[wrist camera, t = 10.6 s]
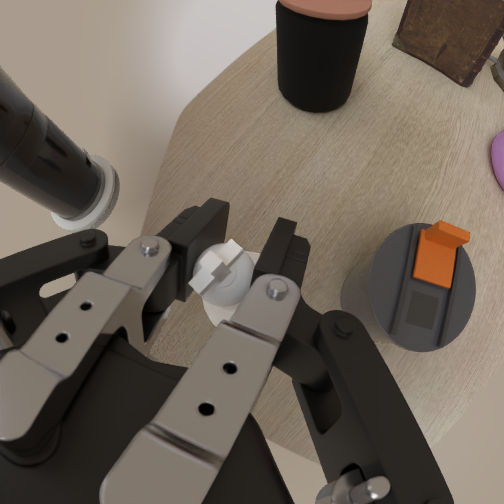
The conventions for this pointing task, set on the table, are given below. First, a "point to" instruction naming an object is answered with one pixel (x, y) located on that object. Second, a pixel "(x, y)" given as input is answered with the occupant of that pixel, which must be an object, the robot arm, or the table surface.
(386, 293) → the travel cup
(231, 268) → the chess piece
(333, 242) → the table surface
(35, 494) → the robot arm
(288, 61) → the coffee jar
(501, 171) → the teapot
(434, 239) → the lid slider
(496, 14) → the book
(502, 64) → the mug
